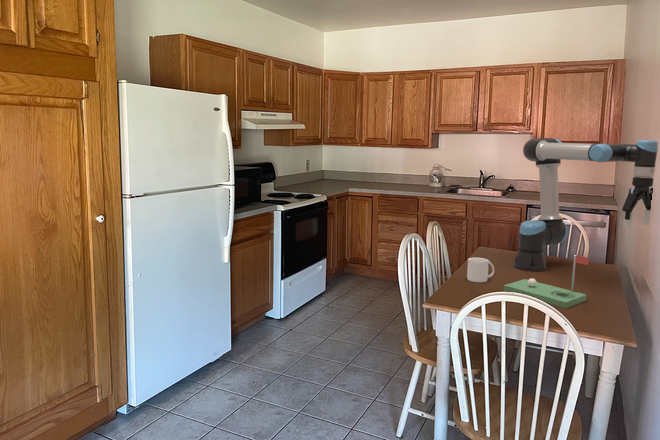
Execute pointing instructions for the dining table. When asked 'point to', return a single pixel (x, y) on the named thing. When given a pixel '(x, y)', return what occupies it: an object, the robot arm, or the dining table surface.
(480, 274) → the mug
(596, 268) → the dining table surface
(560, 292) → the green
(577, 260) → the flag pin
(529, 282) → the ball
